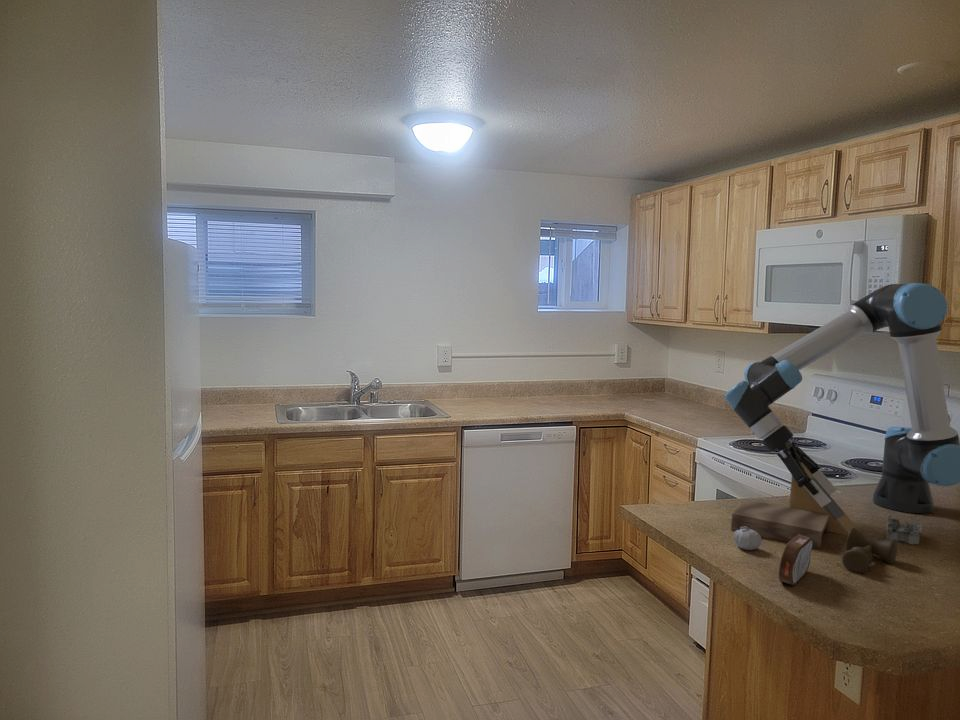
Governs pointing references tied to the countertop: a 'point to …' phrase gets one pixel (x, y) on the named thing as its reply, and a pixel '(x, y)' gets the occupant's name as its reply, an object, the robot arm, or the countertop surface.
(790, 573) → the tin
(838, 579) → the countertop surface
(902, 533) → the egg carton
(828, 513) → the sandwich container
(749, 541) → the garlic
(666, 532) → the countertop surface
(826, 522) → the walnut shelf
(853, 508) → the countertop surface
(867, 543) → the kendama
